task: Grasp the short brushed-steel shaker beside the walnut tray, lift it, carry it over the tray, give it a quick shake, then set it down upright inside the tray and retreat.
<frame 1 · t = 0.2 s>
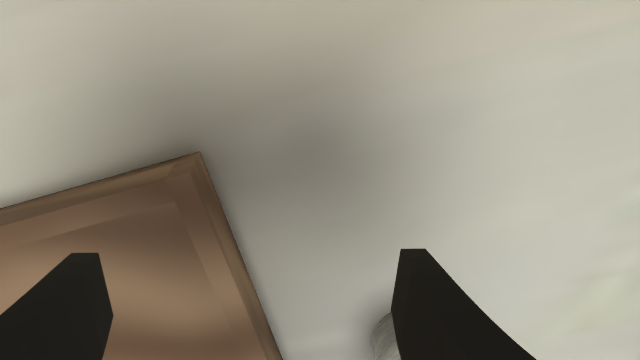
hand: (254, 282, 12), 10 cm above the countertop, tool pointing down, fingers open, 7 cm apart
steel shaker: (409, 337, 26), on the countertop
walnut tray: (133, 346, 25), on the countertop
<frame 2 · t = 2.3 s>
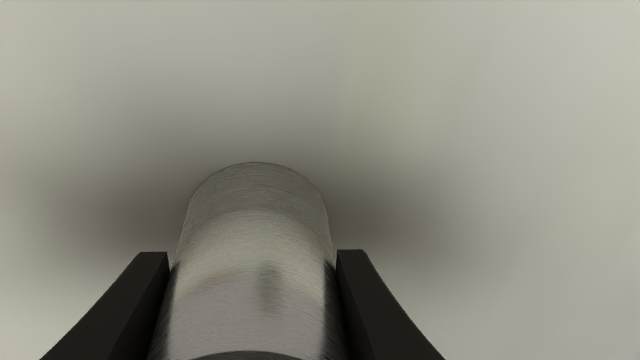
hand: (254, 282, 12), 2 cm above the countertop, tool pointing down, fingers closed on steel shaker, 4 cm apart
steel shaker: (258, 223, 14), on the countertop, touching gripper
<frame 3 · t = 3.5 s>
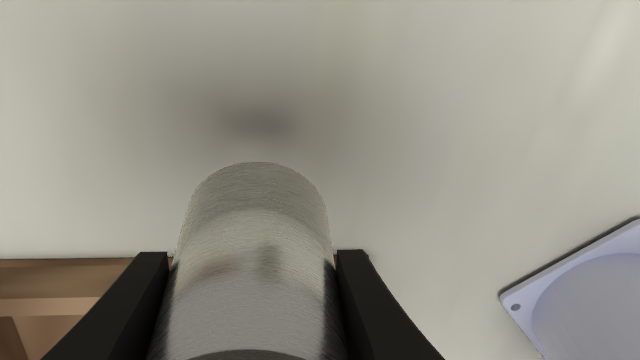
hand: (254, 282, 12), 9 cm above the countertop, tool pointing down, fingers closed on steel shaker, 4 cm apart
steel shaker: (257, 222, 14), point 7 cm above the countertop, touching gripper
walnut tray: (191, 357, 27), on the countertop
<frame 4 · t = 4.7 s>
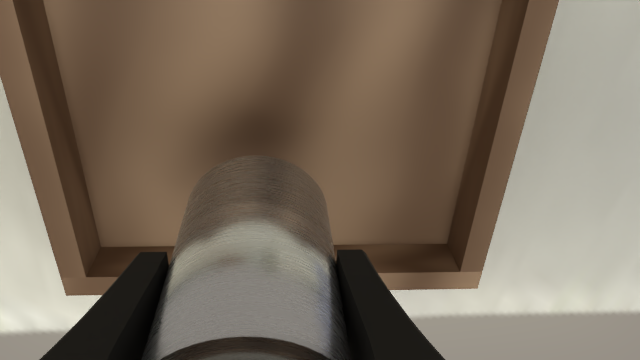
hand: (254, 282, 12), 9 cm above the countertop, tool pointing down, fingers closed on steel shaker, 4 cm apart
steel shaker: (258, 217, 14), point 7 cm above the countertop, touching gripper
walnut tray: (279, 122, 20), on the countertop
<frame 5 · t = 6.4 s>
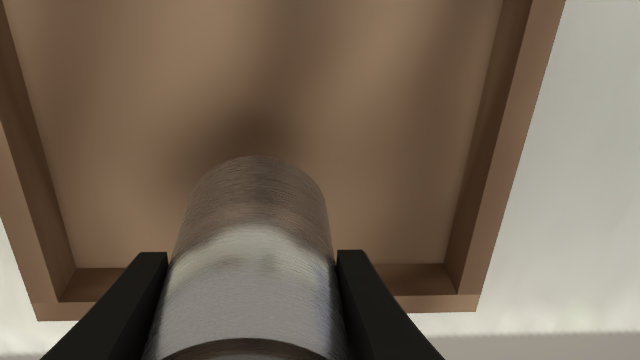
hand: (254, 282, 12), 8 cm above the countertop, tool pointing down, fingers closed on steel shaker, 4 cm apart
steel shaker: (257, 218, 14), point 6 cm above the countertop, touching gripper
walnut tray: (264, 137, 19), on the countertop
when the fingers open (4 cm above the countertop, at t = 7.4 s): steel shaker drops 1 cm, resting on walnut tray.
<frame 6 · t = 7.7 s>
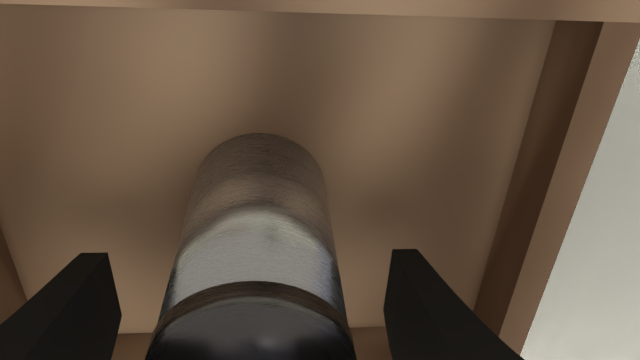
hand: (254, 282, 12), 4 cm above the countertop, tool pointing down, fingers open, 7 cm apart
steel shaker: (260, 191, 15), point 1 cm above the countertop, touching walnut tray
walnut tray: (260, 187, 16), on the countertop
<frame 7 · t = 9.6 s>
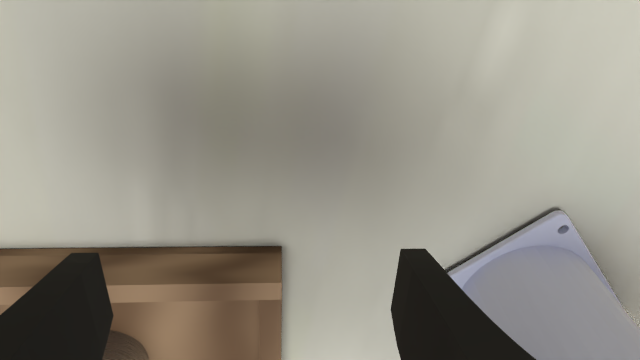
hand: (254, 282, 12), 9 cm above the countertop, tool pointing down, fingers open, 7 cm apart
steel shaker: (109, 356, 26), resting on walnut tray
walnut tray: (111, 351, 26), on the countertop
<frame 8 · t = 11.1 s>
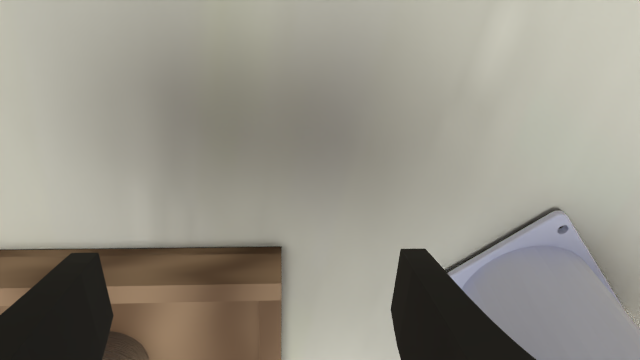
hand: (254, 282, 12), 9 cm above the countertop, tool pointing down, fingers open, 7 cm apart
steel shaker: (109, 357, 26), resting on walnut tray
walnut tray: (111, 351, 26), on the countertop
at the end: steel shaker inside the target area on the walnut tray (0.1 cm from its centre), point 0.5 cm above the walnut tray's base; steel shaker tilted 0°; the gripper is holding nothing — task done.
